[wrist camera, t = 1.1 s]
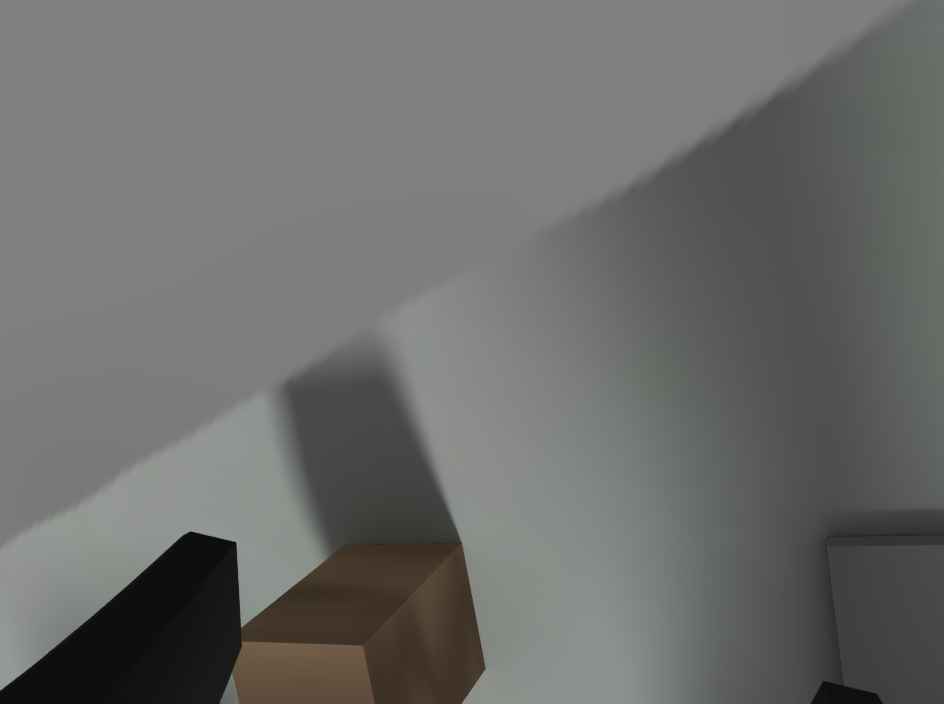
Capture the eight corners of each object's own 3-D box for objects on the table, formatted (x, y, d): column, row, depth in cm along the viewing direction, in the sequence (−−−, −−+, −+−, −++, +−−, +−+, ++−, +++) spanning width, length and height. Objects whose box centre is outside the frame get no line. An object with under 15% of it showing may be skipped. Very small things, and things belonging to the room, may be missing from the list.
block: (485, 668, 27) (395, 799, 22) (370, 663, 29) (258, 785, 23) (462, 542, 26) (362, 645, 21) (345, 544, 28) (224, 640, 23)
